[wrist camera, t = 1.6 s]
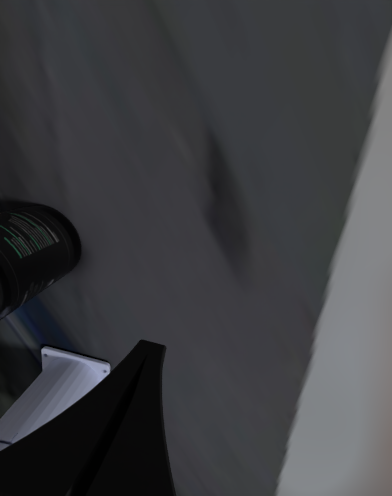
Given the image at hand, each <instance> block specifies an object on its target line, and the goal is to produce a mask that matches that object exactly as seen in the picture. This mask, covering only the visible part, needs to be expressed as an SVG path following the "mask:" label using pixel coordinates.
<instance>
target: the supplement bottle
mask: <svg viewBox="0 0 392 496" xmlns="http://www.w3.org/2000/svg"><path fill="white" fill-rule="evenodd" d="M80 256H81V241H80V237H79V235H78V232H77V230H76V229H75V227H74V226H73V224H72V223H71V222H70V221H69V220H68V219H67V218H66V217H65V216H64V215H62V214H61V213H60V212H58V211H56V210H54V209H52V208H49V207H45V206H39V205H34V206H27V207H22V208H17V209H12V210H8V211H3V212H0V320H1V319H3V318H4V317H6V316H7V315H8V314H10V313H11V312H13V311H14V310H16V309H17V308H19V307H20V306H21V305H23V304H24V303H26V302H27V301H29V300H30V299H32V298H33V297H34V296H36V295H37V294H39V293H40V292H42V291H43V290H45V289H46V288H48V287H49V286H50V285H52V284H53V283H55V282H56V281H58V280H59V279H61V278H62V277H63V276H65V275H66V274H67V273H69V272H70V271H71V270H73V269H74V268H75V266H76V265H77V263H78V262H79V260H80Z"/></svg>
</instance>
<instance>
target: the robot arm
mask: <svg viewBox="0 0 392 496" xmlns="http://www.w3.org/2000/svg"><path fill="white" fill-rule="evenodd" d="M41 352H42V369H43V371H42V373H41V374H40V375H39V376H38V377H37V378H36V379H35V380H34V382H33V383H32V384H31V385H30V386H29V387H28V388H27V389H26V391H25V392H24V393H23V394H22V395H21V396H20V397H19V398H18V400H17V401H16V402H15V403H14V404H13V405H12V406H11V407H10V409H9V410H8V411H7V412H6V413H5V414H4V415H3V416H2V418H1V419H0V496H176V492H175V488H174V483H173V478H172V473H171V468H170V462H169V456H168V450H167V444H166V437H165V429H164V419H163V406H162V368H163V362H164V357H165V352H166V347H165V345H161V344H157V343H154V342H150V341H146V340H140V341H139V342H138V343H137V345H136V346H135V347H134V348H133V349H132V351H131V352H130V353H129V354H128V355H127V356H126V357H125V358H124V359H123V360H122V361H121V362H120V363H119V364H118V365H117V366H116V367H115V368H114V369H113V370H112V371H111V372H110V364H109V363H107V362H104V361H100V360H97V359H93V358H89V357H85V356H82V355H78V354H74V353H70V352H67V351H63V350H59V349H55V348H52V347H48V346H45V347H44V348H43V349H42V350H41Z"/></svg>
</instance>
